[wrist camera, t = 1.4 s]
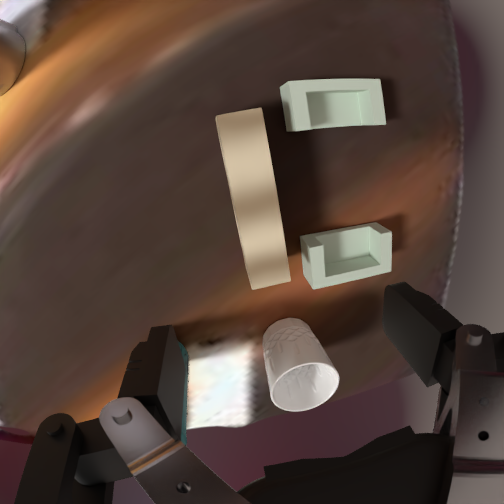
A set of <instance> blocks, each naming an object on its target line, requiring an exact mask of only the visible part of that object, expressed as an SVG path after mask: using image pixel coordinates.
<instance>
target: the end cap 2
mask: <svg viewBox="0 0 504 504" xmlns="http://www.w3.org/2000/svg"><path fill="white" fill-rule="evenodd" d="M300 243H301V253H302V263H303V274H304V276H305V278H306V279H307V281H308V282H309V284H310V285H311V287H312V289H313V290H314V289H318V288H323V287H327V286H332V285H336V284H340V283H345V282H349V281H353V280H357V279H362V278H366V277H370V276H374V275H378V274H382V273H386V272H390V271H391V257H392V232H391V231H390V230H388V229H387V228H385V227H383V226H382V225H380V224H378V223H376V222H374V223H368V224H363V225H357V226H352V227H346V228H341V229H335V230H330V231H324V232H319V233H314V234H308V235H303V236H300Z"/></svg>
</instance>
